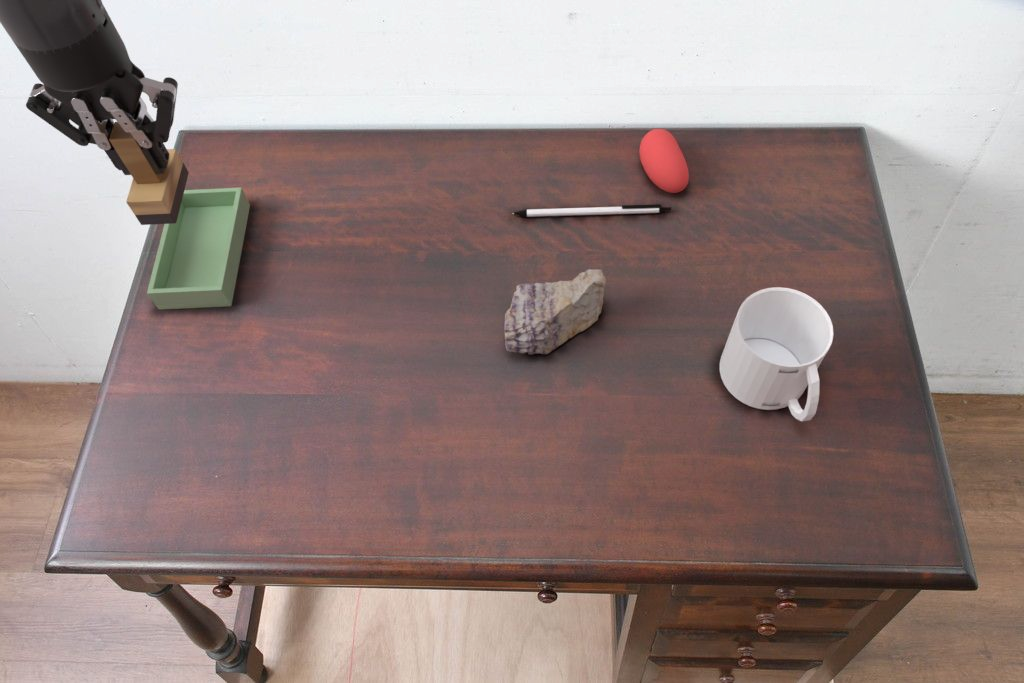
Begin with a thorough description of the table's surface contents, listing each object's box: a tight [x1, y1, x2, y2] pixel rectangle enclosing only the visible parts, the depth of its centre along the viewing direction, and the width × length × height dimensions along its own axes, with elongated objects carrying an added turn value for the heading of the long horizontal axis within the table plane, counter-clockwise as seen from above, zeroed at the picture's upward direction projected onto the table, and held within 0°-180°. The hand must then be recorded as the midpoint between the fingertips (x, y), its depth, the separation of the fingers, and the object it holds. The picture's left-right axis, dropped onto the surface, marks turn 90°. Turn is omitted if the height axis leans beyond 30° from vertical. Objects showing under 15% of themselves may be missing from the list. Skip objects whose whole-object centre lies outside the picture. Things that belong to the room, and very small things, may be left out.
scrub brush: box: [109, 121, 190, 226], centre depth 79 cm, size 7×4×10 cm, turn 2°
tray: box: [146, 186, 251, 311], centre depth 94 cm, size 15×8×3 cm, turn 2°
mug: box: [718, 286, 834, 422], centre depth 79 cm, size 12×9×9 cm
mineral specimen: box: [503, 268, 607, 355], centre depth 86 cm, size 13×7×6 cm, turn 126°
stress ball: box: [638, 128, 690, 194], centre depth 98 cm, size 5×9×6 cm, turn 2°
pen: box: [511, 203, 672, 218], centre depth 96 cm, size 1×19×1 cm, turn 91°
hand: (147, 167), depth 79 cm, fingers closed on scrub brush, 2 cm apart
